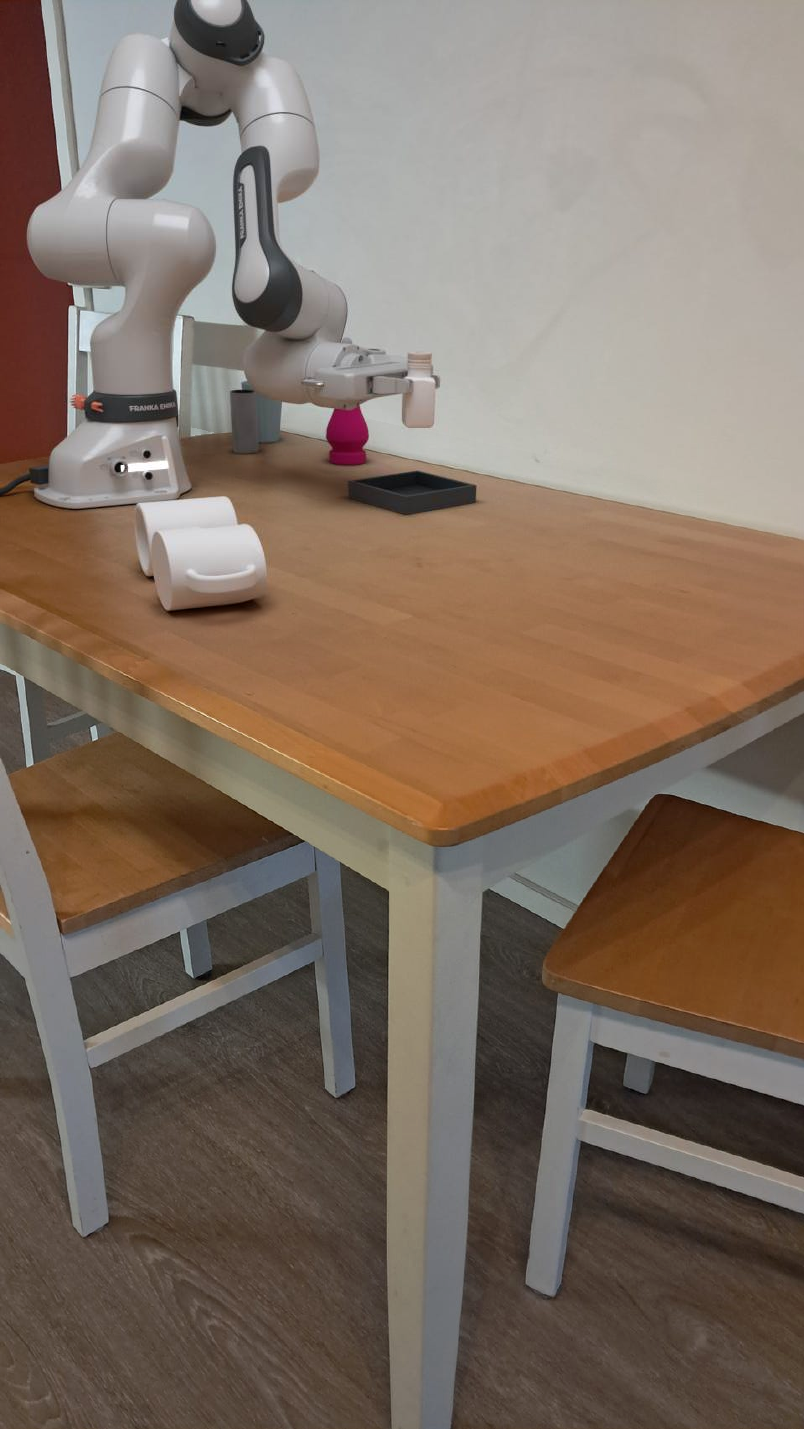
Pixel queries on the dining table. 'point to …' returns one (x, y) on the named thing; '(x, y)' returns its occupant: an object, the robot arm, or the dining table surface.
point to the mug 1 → (177, 520)
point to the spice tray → (412, 492)
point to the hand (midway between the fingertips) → (424, 384)
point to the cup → (266, 416)
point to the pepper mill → (347, 434)
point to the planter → (244, 421)
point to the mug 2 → (208, 566)
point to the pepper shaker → (419, 392)
